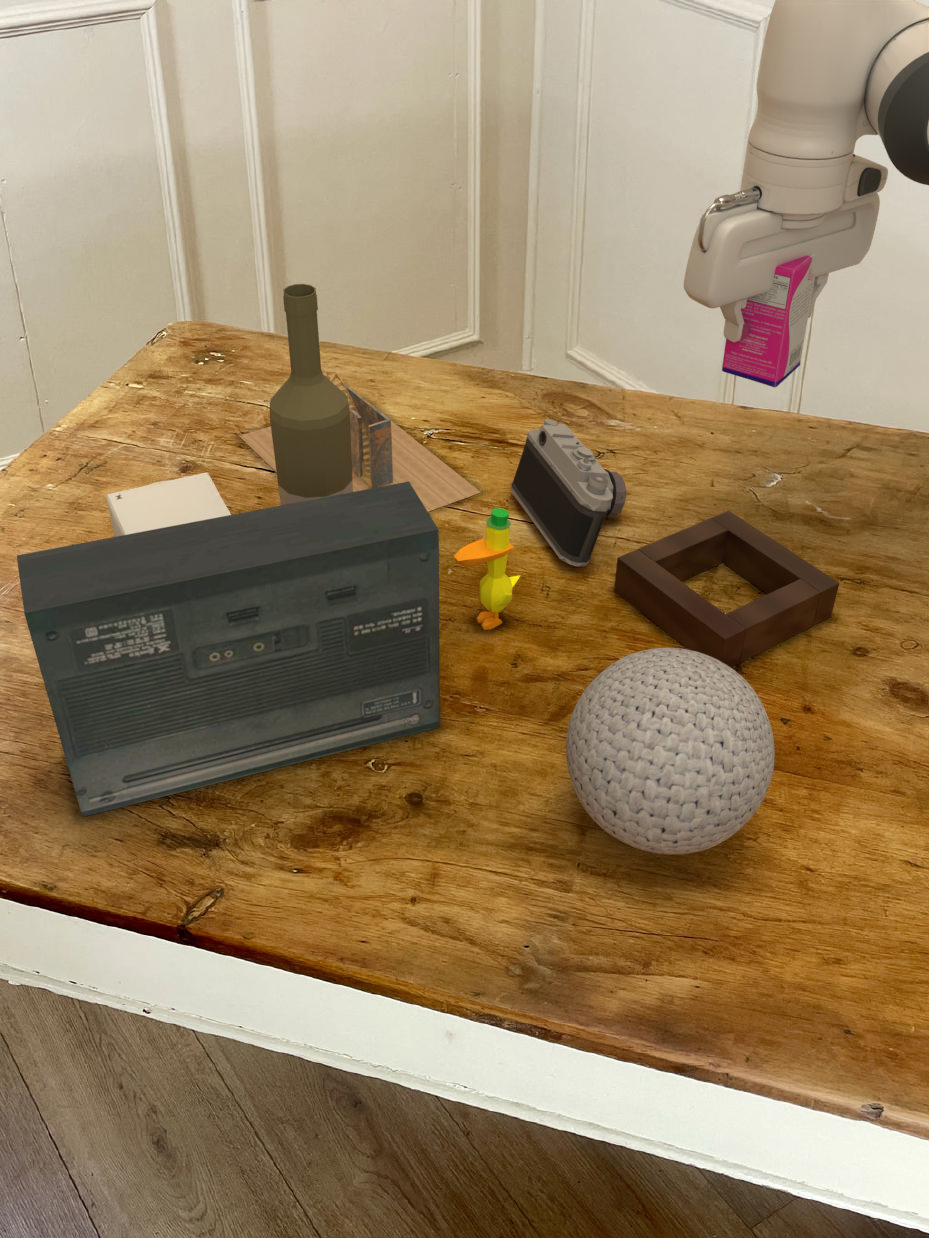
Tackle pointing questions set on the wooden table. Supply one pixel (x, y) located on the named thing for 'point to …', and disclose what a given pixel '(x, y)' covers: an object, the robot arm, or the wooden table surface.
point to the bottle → (309, 413)
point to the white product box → (165, 504)
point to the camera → (566, 491)
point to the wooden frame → (728, 539)
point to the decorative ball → (670, 751)
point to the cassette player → (237, 642)
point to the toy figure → (492, 567)
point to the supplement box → (774, 326)
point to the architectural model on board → (383, 455)
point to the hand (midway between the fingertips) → (767, 328)
